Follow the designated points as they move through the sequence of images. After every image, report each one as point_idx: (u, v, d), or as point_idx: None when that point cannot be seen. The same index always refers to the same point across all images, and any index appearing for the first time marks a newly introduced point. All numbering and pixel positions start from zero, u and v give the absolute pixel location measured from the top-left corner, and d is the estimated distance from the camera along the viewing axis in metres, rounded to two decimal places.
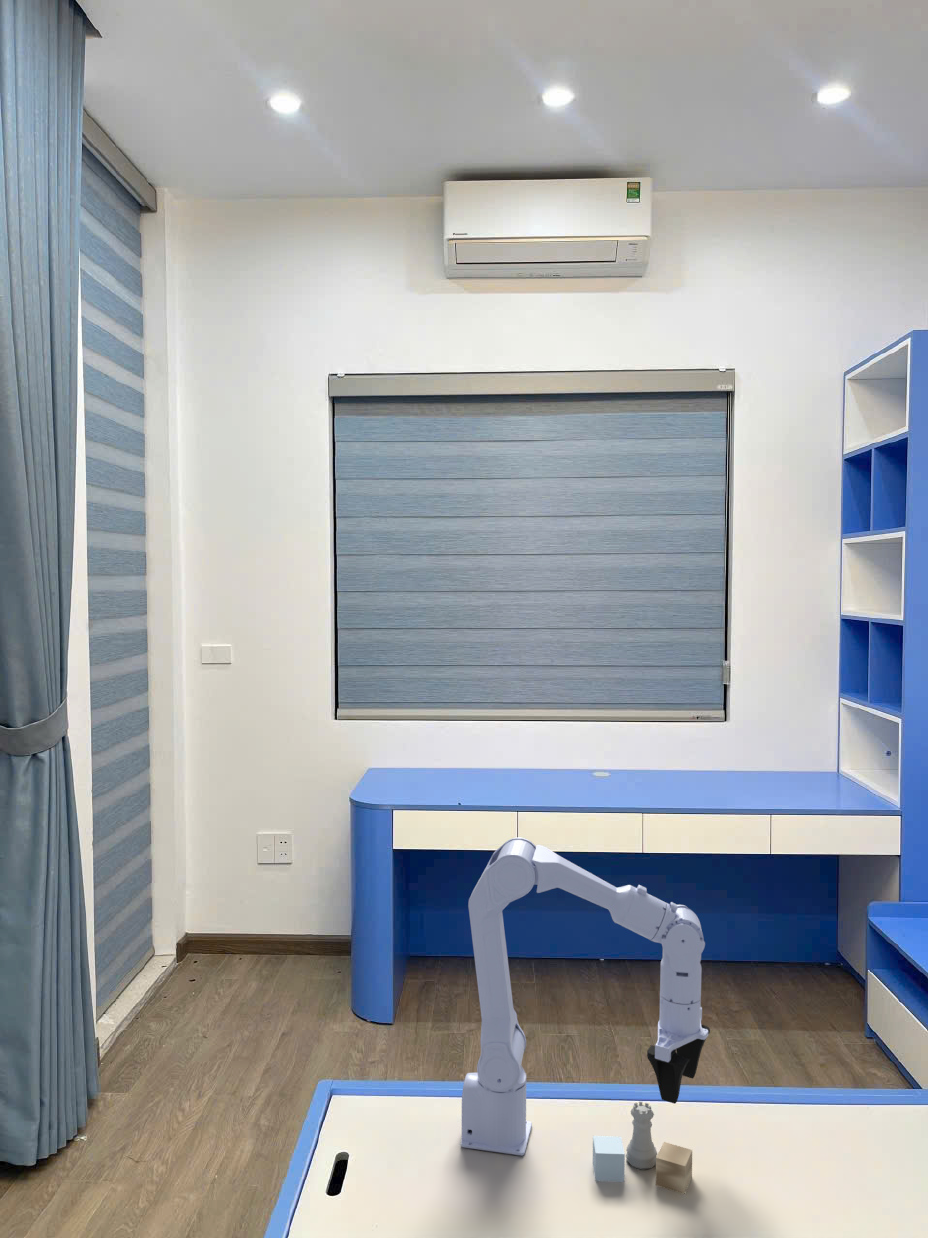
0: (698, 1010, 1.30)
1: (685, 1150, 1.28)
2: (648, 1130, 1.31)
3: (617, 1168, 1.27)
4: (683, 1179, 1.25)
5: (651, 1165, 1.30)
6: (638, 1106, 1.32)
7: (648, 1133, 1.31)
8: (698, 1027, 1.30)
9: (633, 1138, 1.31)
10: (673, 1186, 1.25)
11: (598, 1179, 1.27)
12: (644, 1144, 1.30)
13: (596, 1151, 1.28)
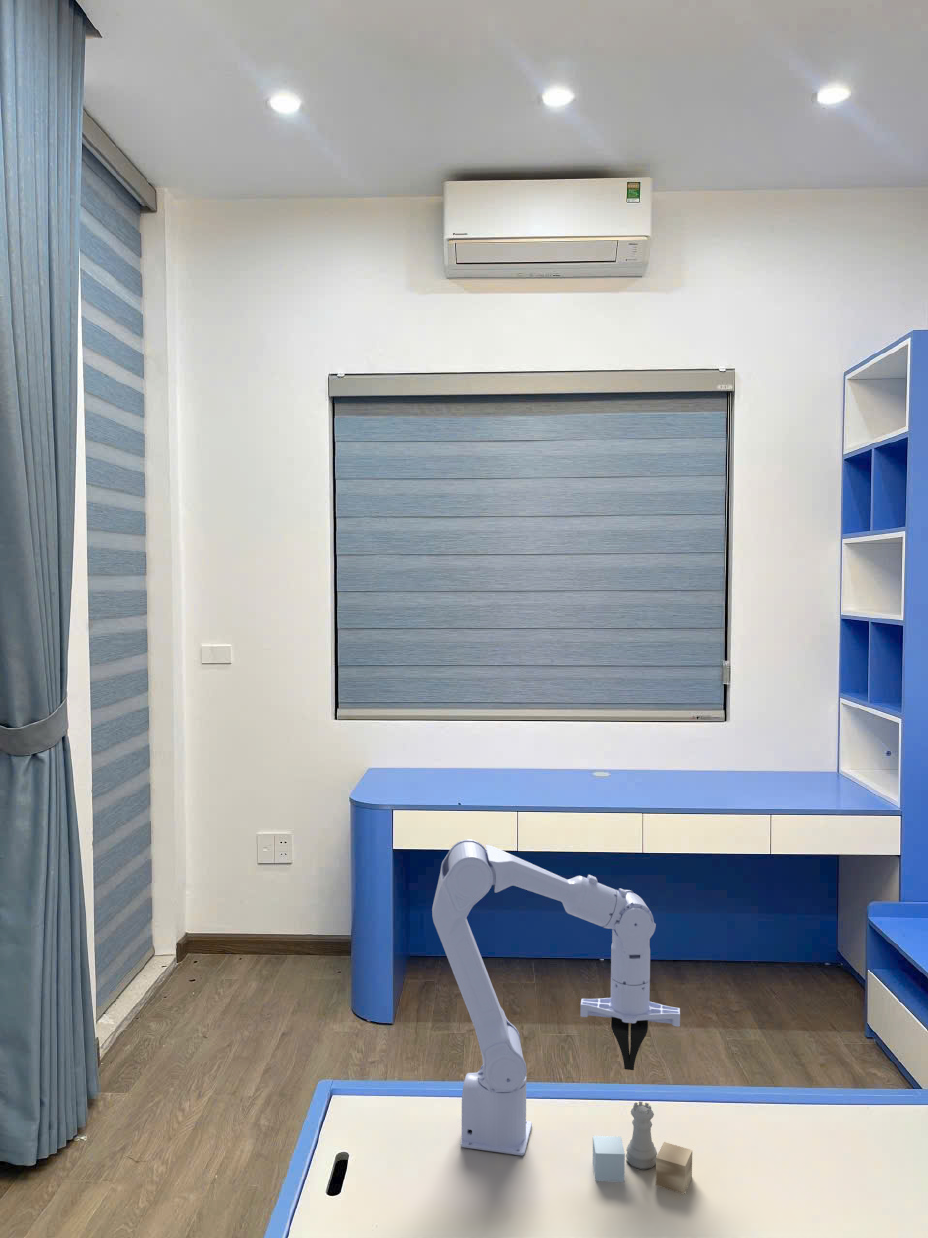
0: (626, 993, 1.34)
1: (685, 1150, 1.28)
2: (648, 1130, 1.31)
3: (617, 1168, 1.27)
4: (683, 1179, 1.25)
5: (651, 1165, 1.30)
6: (638, 1106, 1.32)
7: (648, 1133, 1.31)
8: (627, 1010, 1.34)
9: (633, 1138, 1.31)
10: (673, 1186, 1.25)
11: (598, 1179, 1.27)
12: (644, 1144, 1.30)
13: (596, 1151, 1.28)
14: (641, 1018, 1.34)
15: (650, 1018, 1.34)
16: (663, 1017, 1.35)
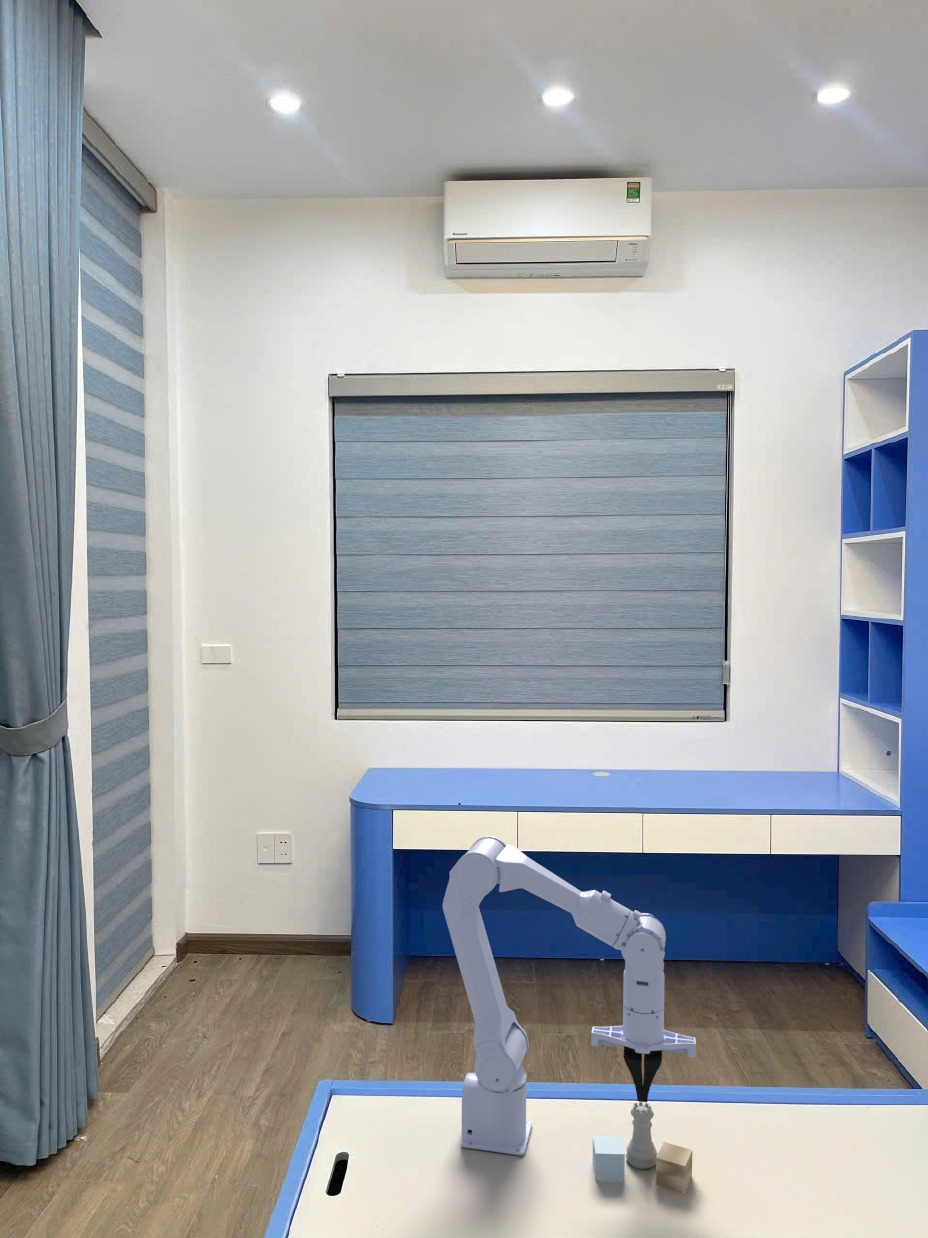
0: (640, 1022, 1.28)
1: (685, 1150, 1.28)
2: (648, 1130, 1.31)
3: (617, 1168, 1.27)
4: (683, 1179, 1.25)
5: (651, 1165, 1.30)
6: (638, 1106, 1.32)
7: (648, 1133, 1.31)
8: (640, 1040, 1.28)
9: (633, 1138, 1.31)
10: (673, 1186, 1.25)
11: (598, 1179, 1.27)
12: (644, 1144, 1.30)
13: (596, 1151, 1.28)
14: (655, 1048, 1.28)
15: (664, 1048, 1.28)
16: (678, 1047, 1.28)
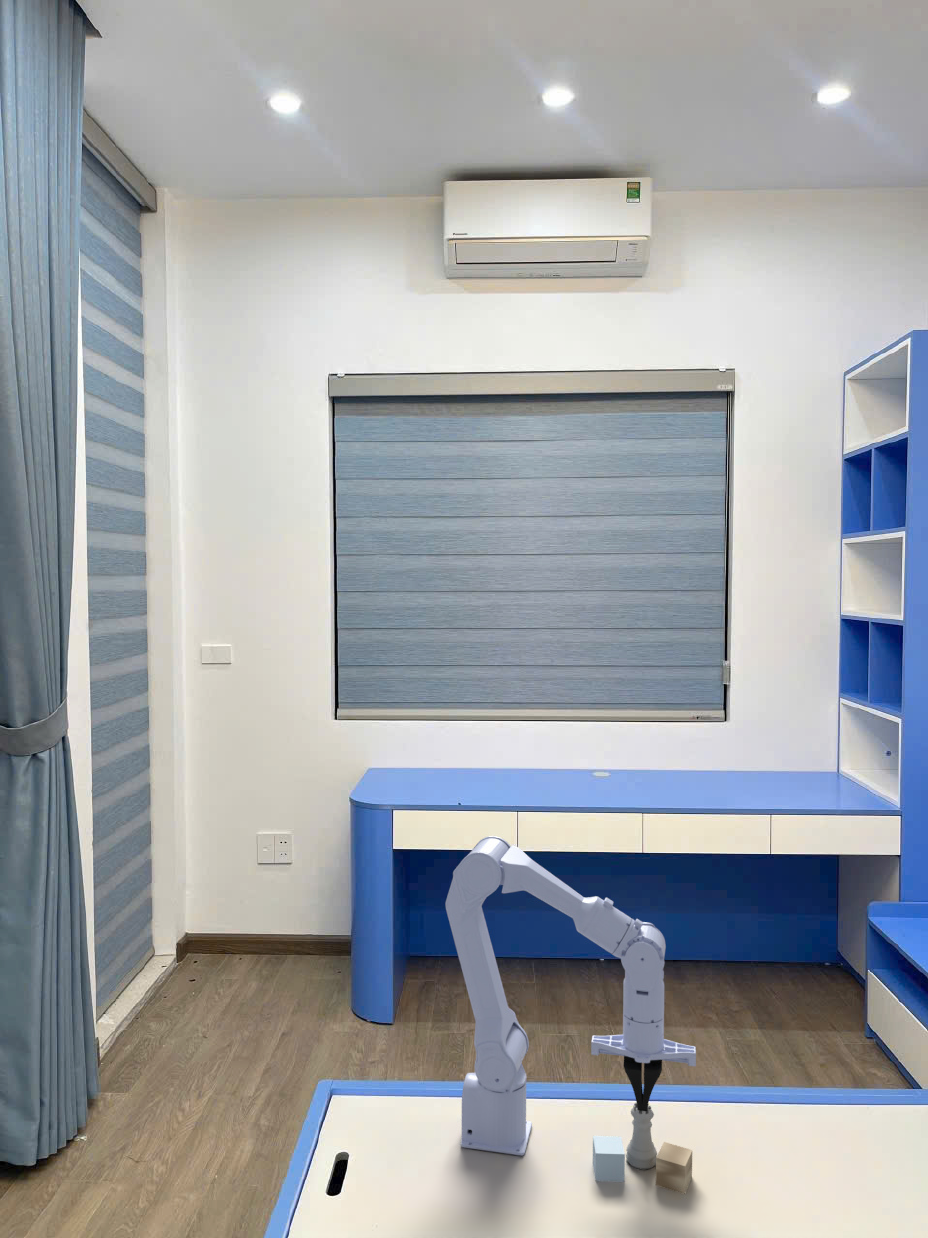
0: (640, 1032, 1.28)
1: (685, 1150, 1.28)
2: (648, 1130, 1.31)
3: (617, 1168, 1.27)
4: (683, 1179, 1.25)
5: (651, 1165, 1.30)
6: None
7: (648, 1133, 1.31)
8: (640, 1049, 1.28)
9: (633, 1138, 1.31)
10: (673, 1186, 1.25)
11: (598, 1179, 1.27)
12: (644, 1144, 1.30)
13: (596, 1151, 1.28)
14: (655, 1057, 1.28)
15: (664, 1057, 1.28)
16: (678, 1056, 1.28)
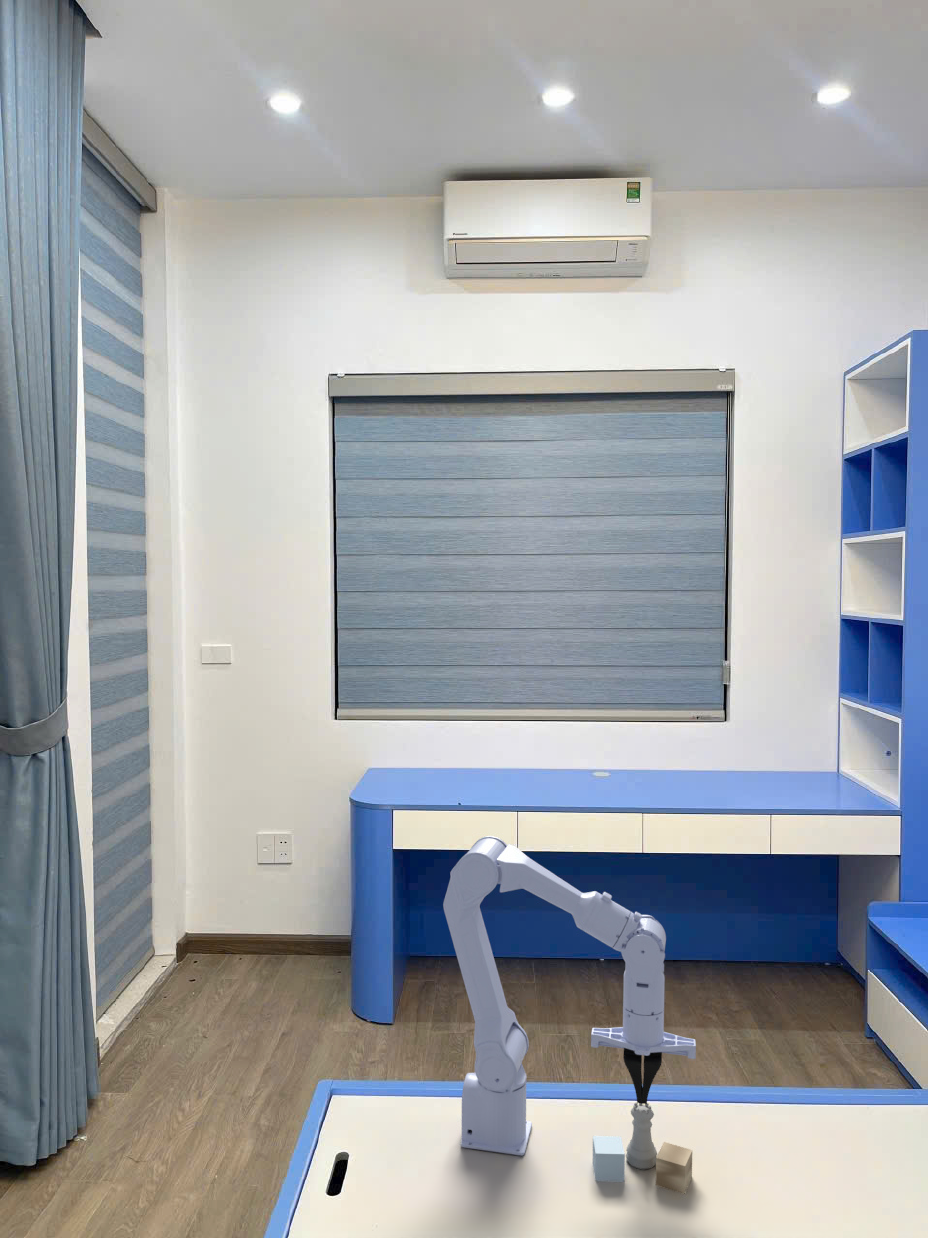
0: (640, 1024, 1.28)
1: (685, 1150, 1.28)
2: (648, 1130, 1.31)
3: (617, 1168, 1.27)
4: (683, 1179, 1.25)
5: (651, 1165, 1.30)
6: (638, 1106, 1.32)
7: (648, 1133, 1.31)
8: (640, 1042, 1.28)
9: (633, 1138, 1.31)
10: (673, 1186, 1.25)
11: (598, 1179, 1.27)
12: (644, 1144, 1.30)
13: (596, 1151, 1.28)
14: (655, 1050, 1.28)
15: (664, 1050, 1.28)
16: (678, 1049, 1.28)
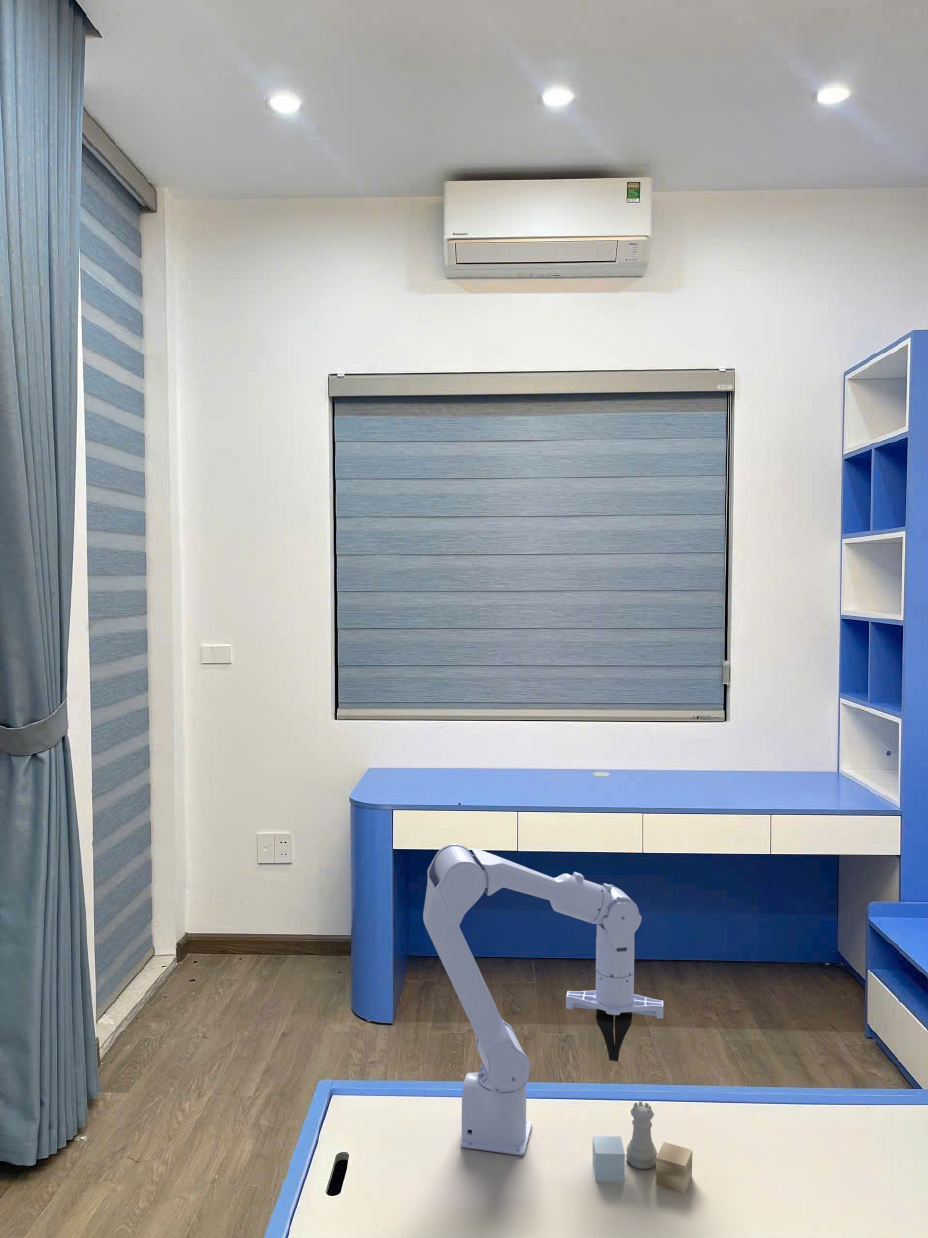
0: (611, 986, 1.37)
1: (685, 1150, 1.28)
2: (648, 1130, 1.31)
3: (617, 1168, 1.27)
4: (683, 1179, 1.25)
5: (651, 1165, 1.30)
6: (638, 1106, 1.32)
7: (648, 1133, 1.31)
8: (611, 1002, 1.37)
9: (633, 1138, 1.31)
10: (673, 1186, 1.25)
11: (598, 1179, 1.27)
12: (644, 1144, 1.30)
13: (596, 1151, 1.28)
14: (625, 1010, 1.37)
15: (634, 1010, 1.37)
16: (647, 1009, 1.37)
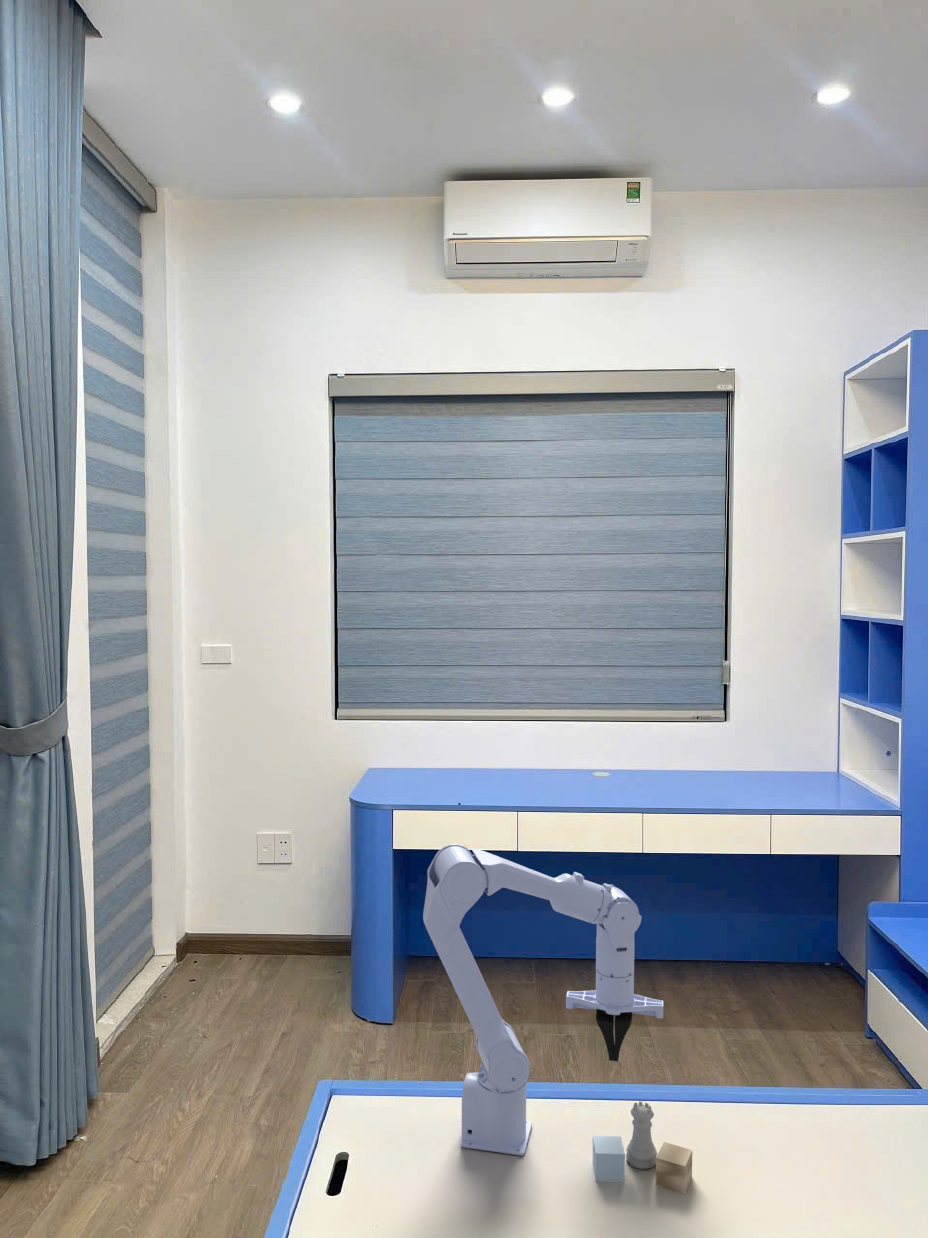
0: (611, 986, 1.37)
1: (685, 1150, 1.28)
2: (648, 1130, 1.31)
3: (617, 1168, 1.27)
4: (683, 1179, 1.25)
5: (651, 1165, 1.30)
6: (638, 1106, 1.32)
7: (648, 1133, 1.31)
8: (611, 1002, 1.37)
9: (633, 1138, 1.31)
10: (673, 1186, 1.25)
11: (598, 1179, 1.27)
12: (644, 1144, 1.30)
13: (596, 1151, 1.28)
14: (625, 1010, 1.37)
15: (634, 1010, 1.37)
16: (647, 1009, 1.37)
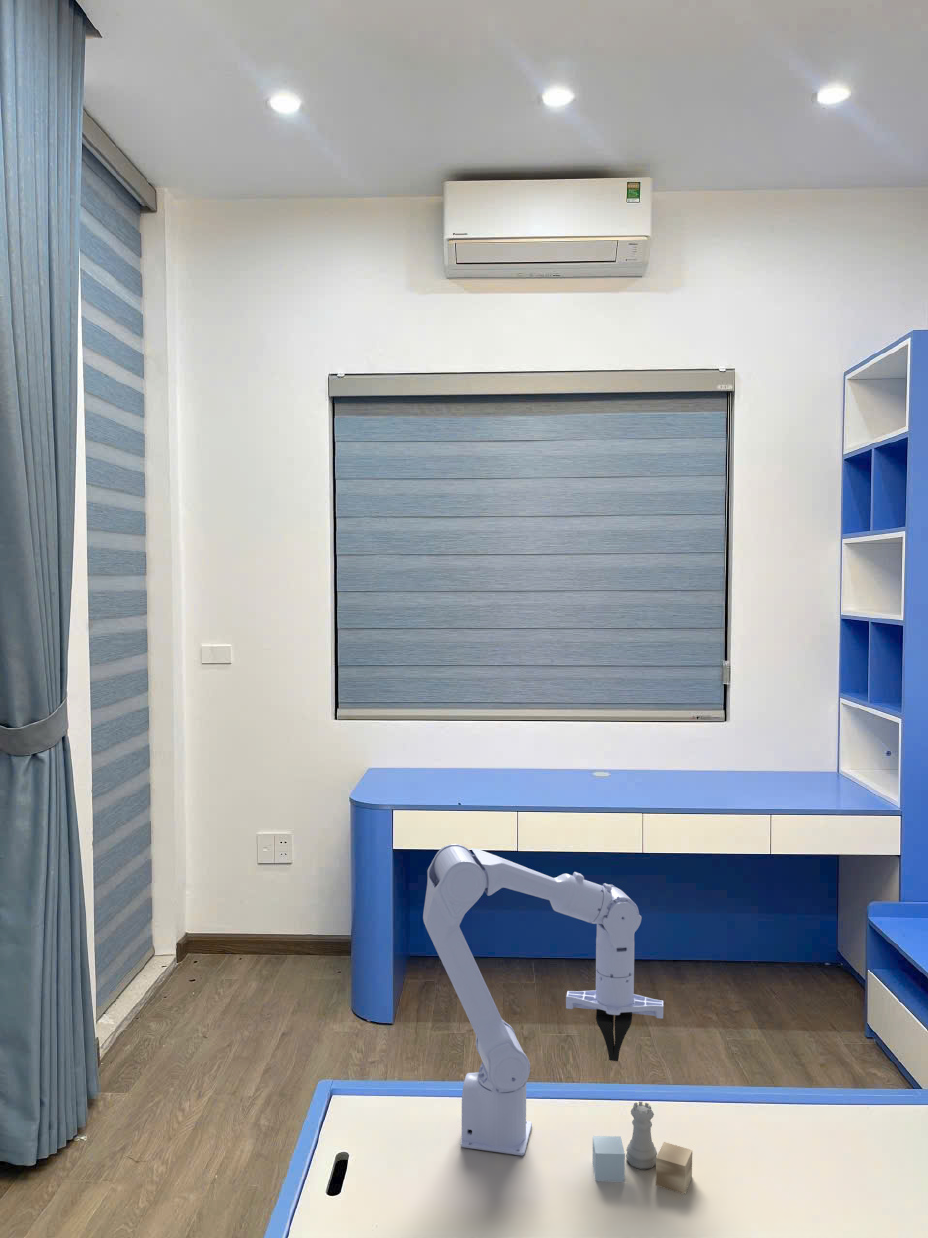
0: (611, 986, 1.37)
1: (685, 1150, 1.28)
2: (648, 1130, 1.31)
3: (617, 1168, 1.27)
4: (683, 1179, 1.25)
5: (651, 1165, 1.30)
6: (638, 1106, 1.32)
7: (648, 1133, 1.31)
8: (611, 1002, 1.37)
9: (633, 1138, 1.31)
10: (673, 1186, 1.25)
11: (598, 1179, 1.27)
12: (644, 1144, 1.30)
13: (596, 1151, 1.28)
14: (625, 1010, 1.37)
15: (634, 1010, 1.37)
16: (647, 1009, 1.37)
